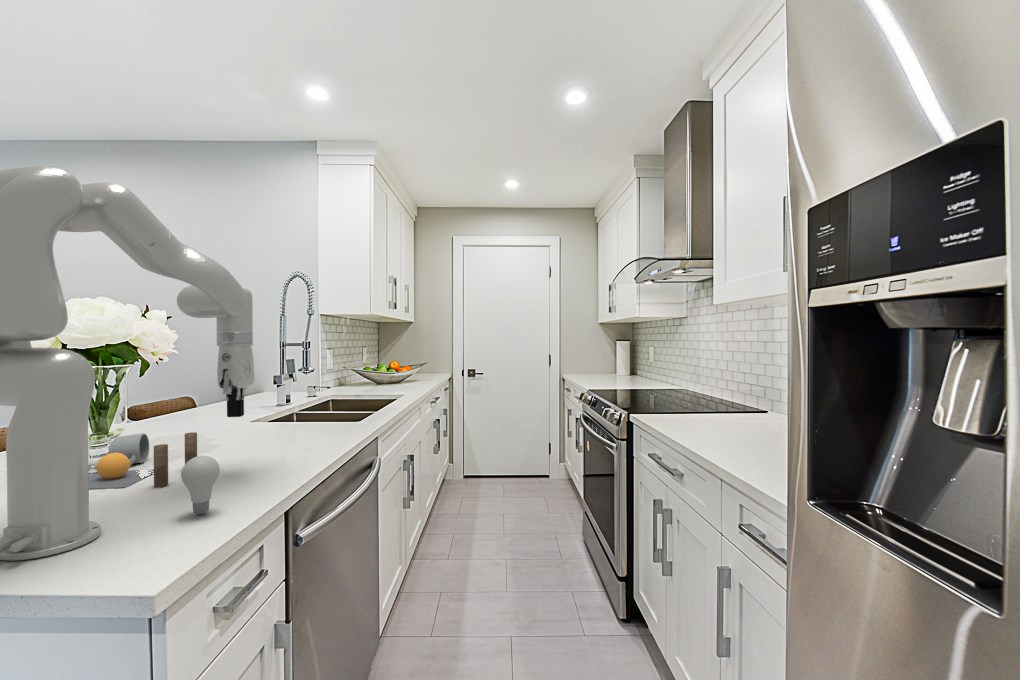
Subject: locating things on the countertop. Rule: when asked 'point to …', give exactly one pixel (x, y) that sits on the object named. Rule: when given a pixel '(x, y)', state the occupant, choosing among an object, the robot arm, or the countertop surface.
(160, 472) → the gate post left
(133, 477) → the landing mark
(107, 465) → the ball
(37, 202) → the robot arm
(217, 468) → the lightbulb
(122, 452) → the ceramic mug
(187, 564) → the countertop surface
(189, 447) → the gate post right
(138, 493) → the countertop surface
